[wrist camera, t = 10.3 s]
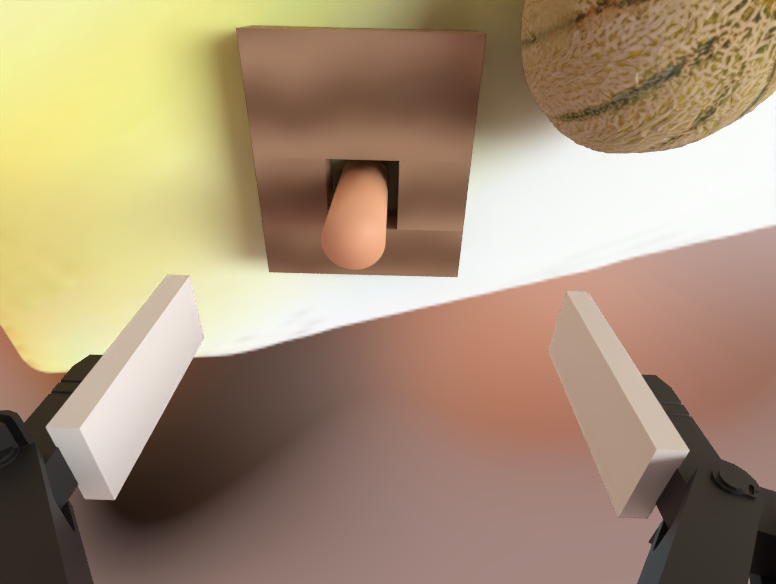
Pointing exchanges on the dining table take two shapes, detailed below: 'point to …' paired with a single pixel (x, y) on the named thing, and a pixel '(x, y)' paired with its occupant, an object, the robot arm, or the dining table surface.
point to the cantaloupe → (647, 68)
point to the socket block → (362, 136)
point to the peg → (357, 216)
